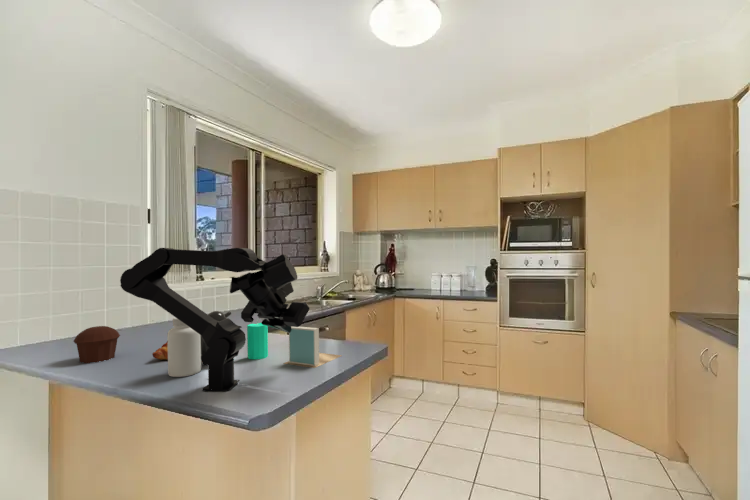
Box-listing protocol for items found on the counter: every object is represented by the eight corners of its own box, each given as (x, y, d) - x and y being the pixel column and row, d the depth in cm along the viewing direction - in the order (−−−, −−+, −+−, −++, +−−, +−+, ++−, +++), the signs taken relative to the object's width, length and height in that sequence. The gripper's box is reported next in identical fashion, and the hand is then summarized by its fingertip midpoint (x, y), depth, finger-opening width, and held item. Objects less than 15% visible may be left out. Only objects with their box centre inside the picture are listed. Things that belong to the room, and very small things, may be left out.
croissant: (203, 356, 133) (195, 335, 134) (223, 344, 130) (214, 323, 131) (147, 372, 113) (139, 347, 115) (169, 359, 110) (160, 333, 112)
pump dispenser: (242, 360, 113) (242, 309, 113) (211, 369, 104) (211, 314, 104) (220, 356, 118) (219, 307, 119) (189, 364, 109) (189, 312, 110)
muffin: (73, 366, 110) (73, 332, 110) (73, 359, 118) (72, 327, 118) (122, 359, 117) (122, 326, 117) (118, 352, 126) (118, 322, 126)
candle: (271, 356, 117) (270, 317, 118) (263, 361, 111) (263, 320, 112) (252, 356, 118) (252, 317, 118) (244, 361, 112) (243, 320, 112)
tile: (314, 366, 104) (314, 329, 104) (289, 362, 108) (288, 327, 108) (319, 364, 105) (318, 328, 106) (293, 360, 110) (293, 326, 110)
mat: (314, 370, 102) (314, 367, 102) (283, 365, 107) (283, 363, 107) (342, 357, 114) (342, 355, 114) (312, 353, 119) (312, 351, 119)
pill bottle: (170, 370, 104) (169, 316, 104) (202, 367, 106) (201, 314, 107) (165, 379, 96) (164, 320, 96) (199, 375, 99) (199, 318, 99)
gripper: (304, 269, 93) (330, 309, 102) (249, 269, 101) (277, 305, 111) (283, 305, 85) (313, 344, 95) (225, 301, 94) (258, 337, 104)
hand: (289, 331), depth 101 cm, fingers closed
